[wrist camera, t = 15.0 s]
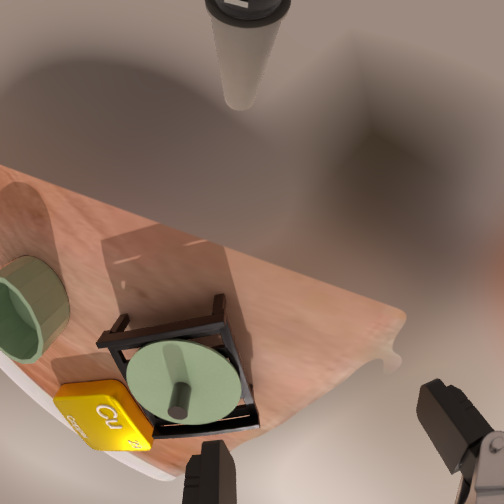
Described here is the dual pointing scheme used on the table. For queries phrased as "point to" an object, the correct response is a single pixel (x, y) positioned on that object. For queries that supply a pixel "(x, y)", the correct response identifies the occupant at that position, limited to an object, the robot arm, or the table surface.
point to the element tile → (105, 415)
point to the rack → (187, 330)
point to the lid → (183, 381)
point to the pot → (30, 308)
